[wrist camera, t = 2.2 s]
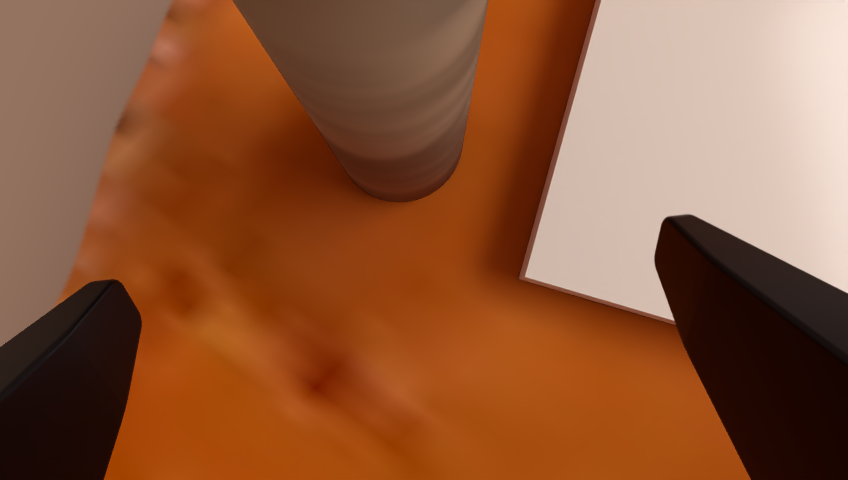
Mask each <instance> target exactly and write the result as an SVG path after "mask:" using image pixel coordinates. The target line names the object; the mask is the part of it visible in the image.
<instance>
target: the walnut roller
mask: <svg viewBox="0 0 848 480" xmlns="http://www.w3.org/2000/svg"><path fill="white" fill-rule="evenodd" d="M233 2H234V3H235V5H236V6H237V8H238V9H239V11H240V12H241V14H242V15H243V17H244V18H245V20H246V21H247V23H248V24H249V26H250V27H251V29H252V30H253V32H254V33H255V35H256V37H257V38H258V40H259V41H260V43H261V44H262V46H263V47H264V49H265V50H266V52H267V53H268V55H269V56H270V58H271V59H272V61H273V62H274V64H275V65H276V67H277V68H278V70H279V71H280V73H281V74H282V76H283V77H284V79H285V80H286V82H287V83H288V85H289V86H290V88H291V89H292V91H293V92H294V94H295V95H296V97H297V99H298V100H299V102H300V103H301V105H302V106H303V108H304V109H305V111H306V112H307V114H308V115H309V117H310V118H311V120H312V121H313V123H314V124H315V126H316V127H317V129H318V130H319V132H320V133H321V135H322V136H323V138H324V139H325V141H326V142H327V144H328V145H329V147H330V148H331V150H332V151H333V153H334V154H335V156H336V157H337V159H338V160H339V162H340V164H341V165H342V167H343V168H344V170H345V171H346V173H347V174H348V176H349V177H350V178H351V179H352V181H353V182H354V183H355V184H356V185H357V186H358V187H359V188H361V189H362V190H364V191H365V192H366V193H368V194H370V195H372V196H374V197H377V198H379V199H382V200H387V201H394V202H407V201H412V200H417V199H420V198H423V197H425V196H427V195H429V194H431V193H433V192H434V191H436V190H437V189H439V188H440V187H441V186H442V185H443V184H444V183H445V182H446V181H447V180H448V179H449V178H450V176H451V175H452V174H453V172H454V170H455V168H456V167H457V165H458V162H459V159H460V156H461V151H462V146H463V141H464V135H465V129H466V124H467V118H468V112H469V106H470V101H471V95H472V89H473V84H474V78H475V72H476V67H477V61H478V55H479V50H480V44H481V38H482V32H483V27H484V21H485V15H486V10H487V4H488V0H233Z"/></svg>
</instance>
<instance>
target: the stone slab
mask: <svg viewBox="0 0 848 480" xmlns="http://www.w3.org/2000/svg"><path fill="white" fill-rule="evenodd" d="M683 214H692V215H694V216H696V217H698V218H700V219H702V220H704V221H706V222H708V223H710V224H712V225H714V226H716V227H718V228H720V229H722V230H724V231H726V232H728V233H730V234H732V235H734V236H736V237H738V238H740V239H742V240H744V241H746V242H748V243H750V244H752V245H754V246H755V247H757V248H759V249H761V250H763V251H765V252H767V253H769V254H771V255H773V256H775V257H777V258H779V259H781V260H783V261H785V262H787V263H789V264H791V265H793V266H795V267H797V268H799V269H801V270H803V271H805V272H807V273H809V274H811V275H813V276H815V277H817V278H819V279H821V280H823V281H825V282H827V283H829V284H831V285H833V286H835V287H837V288H838V289H840V290H842V291H844V292H846V293H848V0H596V1H595V5H594V8H593V12H592V16H591V19H590V23H589V26H588V30H587V34H586V37H585V41H584V44H583V48H582V52H581V55H580V59H579V62H578V66H577V70H576V73H575V77H574V81H573V84H572V88H571V91H570V95H569V99H568V102H567V106H566V109H565V113H564V117H563V120H562V124H561V127H560V131H559V135H558V138H557V142H556V145H555V149H554V153H553V156H552V160H551V164H550V167H549V171H548V174H547V178H546V182H545V185H544V189H543V192H542V196H541V200H540V203H539V207H538V210H537V214H536V218H535V221H534V225H533V228H532V232H531V236H530V239H529V243H528V246H527V250H526V254H525V257H524V261H523V265H522V268H521V272H520V275H519V279H520V280H524V281H527V282H531V283H534V284H537V285H541V286H544V287H548V288H551V289H554V290H558V291H561V292H565V293H568V294H571V295H575V296H578V297H582V298H585V299H588V300H592V301H595V302H599V303H602V304H605V305H609V306H612V307H616V308H619V309H622V310H626V311H629V312H633V313H636V314H639V315H643V316H646V317H650V318H653V319H656V320H660V321H663V322H667V323H670V324H673V325H676V324H675V321H674V318H673V315H672V313H671V310H670V307H669V304H668V301H667V299H666V296H665V293H664V290H663V288H662V285H661V282H660V279H659V277H658V274H657V271H656V268H655V263H654V255H655V250H656V245H657V241H658V236H659V232H660V227H661V224H662V221H663V220H664V219H665V218H666V217H668V216H674V215H683Z"/></svg>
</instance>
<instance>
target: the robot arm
mask: <svg viewBox="0 0 848 480" xmlns="http://www.w3.org/2000/svg"><path fill="white" fill-rule="evenodd" d="M654 263H655V268H656V271H657V274H658V277H659V279H660V282H661V285H662V288H663V290H664V293H665V296H666V299H667V301H668V304H669V307H670V310H671V313H672V315H673V318H674V321H675V324H676V326H677V329H678V332H679V335H680V337H681V340H682V342H683V345H684V347H685V349H686V351H687V353H688V355H689V358H690V360H691V362H692V364H693V366H694V368H695V370H696V372H697V374H698V376H699V378H700V380H701V382H702V383H703V385H704V387H705V389H706V391H707V393H708V395H709V397H710V399H711V401H712V403H713V405H714V407H715V409H716V411H717V413H718V415H719V417H720V419H721V421H722V423H723V425H724V427H725V429H726V431H727V433H728V435H729V437H730V439H731V441H732V443H733V445H734V447H735V449H736V451H737V453H738V455H739V457H740V459H741V461H742V463H743V465H744V467H745V469H746V471H747V473H748V475H749V477H750V479H751V480H848V293H846V292H844V291H842V290H840V289H838V288H837V287H835V286H833V285H831V284H829V283H827V282H825V281H823V280H821V279H819V278H817V277H815V276H813V275H811V274H809V273H807V272H805V271H803V270H801V269H799V268H797V267H795V266H793V265H791V264H789V263H787V262H785V261H783V260H781V259H779V258H777V257H775V256H773V255H771V254H769V253H767V252H765V251H763V250H761V249H759V248H757V247H755V246H754V245H752V244H750V243H748V242H746V241H744V240H742V239H740V238H738V237H736V236H734V235H732V234H730V233H728V232H726V231H724V230H722V229H720V228H718V227H716V226H714V225H712V224H710V223H708V222H706V221H704V220H702V219H700V218H698V217H696V216H694V215H692V214H683V215H674V216H668V217H666V218H665V219H664V220H663V221H662V224H661V227H660V232H659V236H658V241H657V245H656V250H655V255H654ZM141 326H142V321H141V316H140V313H139V311H138V309H137V308H136V306H135V304H134V303H133V301H132V299H131V298H130V296H129V294H128V293H127V291H126V289H125V288H124V286H123V284H122V283H121V282H119V281H118V280H115V279H110V280H101V281H94V282H90V283H88V284H87V285H85V286H84V287H82V288H81V289H80V290H78V291H77V292H76V293H74V294H73V295H71V296H70V297H69V298H67V299H66V300H65V301H63V302H62V303H60V304H59V305H58V306H56V307H55V308H54V309H52V310H51V311H49V312H48V313H47V314H46V315H44V316H42V317H41V318H40V319H38V320H37V321H36V322H35V323H33V324H31V325H30V326H29V327H27V328H26V329H25V330H24V331H22V332H20V333H19V334H18V335H16V336H15V337H14V338H12V339H11V340H10V341H8V342H7V343H5V344H4V345H3V346H1V347H0V480H104V477H105V474H106V471H107V467H108V464H109V461H110V458H111V455H112V451H113V448H114V445H115V442H116V439H117V435H118V432H119V429H120V426H121V423H122V419H123V415H124V412H125V408H126V404H127V400H128V395H129V390H130V385H131V380H132V374H133V369H134V364H135V359H136V354H137V348H138V343H139V338H140V333H141Z"/></svg>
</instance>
